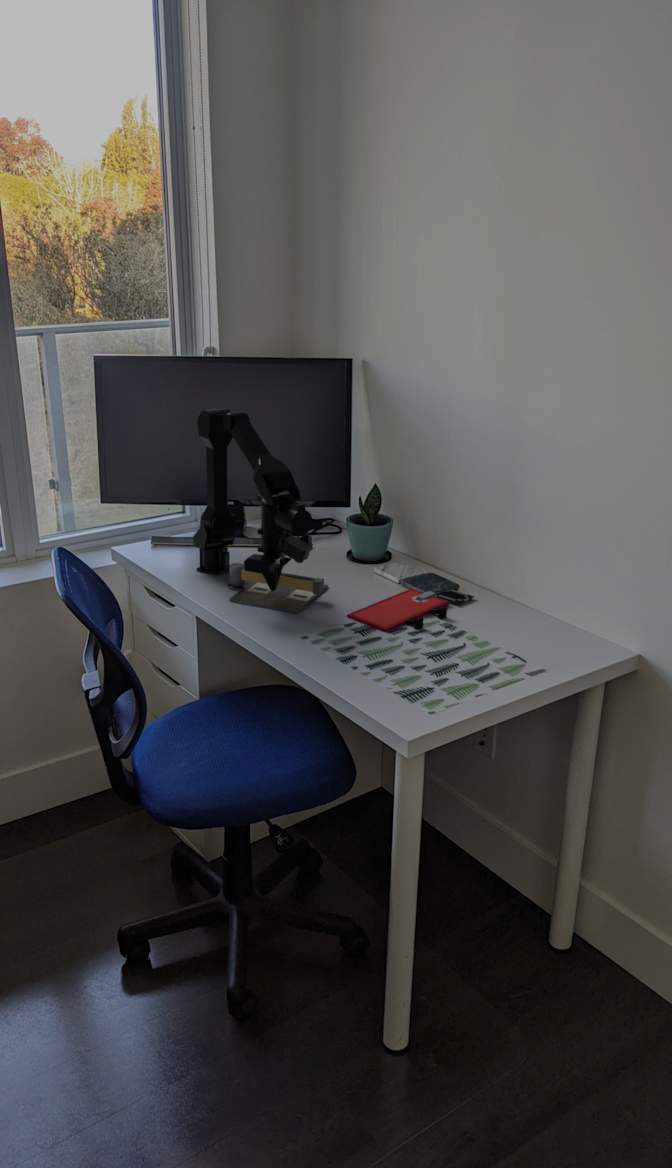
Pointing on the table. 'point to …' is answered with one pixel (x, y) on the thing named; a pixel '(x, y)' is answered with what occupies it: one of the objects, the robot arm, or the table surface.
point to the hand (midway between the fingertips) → (273, 590)
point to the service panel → (273, 597)
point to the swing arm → (285, 580)
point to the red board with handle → (407, 609)
